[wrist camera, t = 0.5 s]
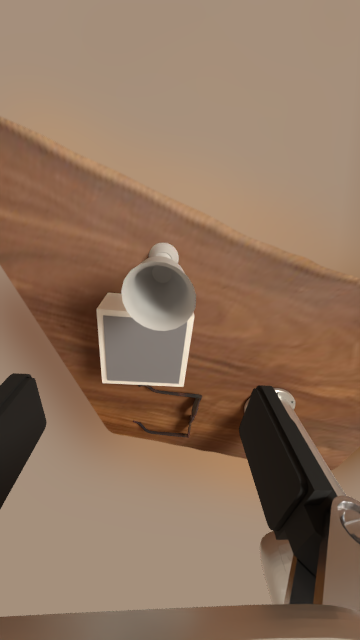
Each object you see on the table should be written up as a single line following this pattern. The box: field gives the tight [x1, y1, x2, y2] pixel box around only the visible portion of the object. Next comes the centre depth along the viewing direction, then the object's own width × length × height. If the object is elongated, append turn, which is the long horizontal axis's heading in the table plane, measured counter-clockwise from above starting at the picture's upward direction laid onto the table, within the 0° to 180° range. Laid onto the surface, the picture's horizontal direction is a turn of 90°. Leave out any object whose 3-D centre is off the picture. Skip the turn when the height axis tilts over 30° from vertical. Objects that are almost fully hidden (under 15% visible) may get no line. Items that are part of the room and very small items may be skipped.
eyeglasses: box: [133, 385, 202, 438], centre depth 51 cm, size 15×15×5 cm
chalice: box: [121, 243, 196, 331], centre depth 28 cm, size 7×7×18 cm
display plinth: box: [96, 293, 194, 387], centre depth 40 cm, size 15×15×7 cm
